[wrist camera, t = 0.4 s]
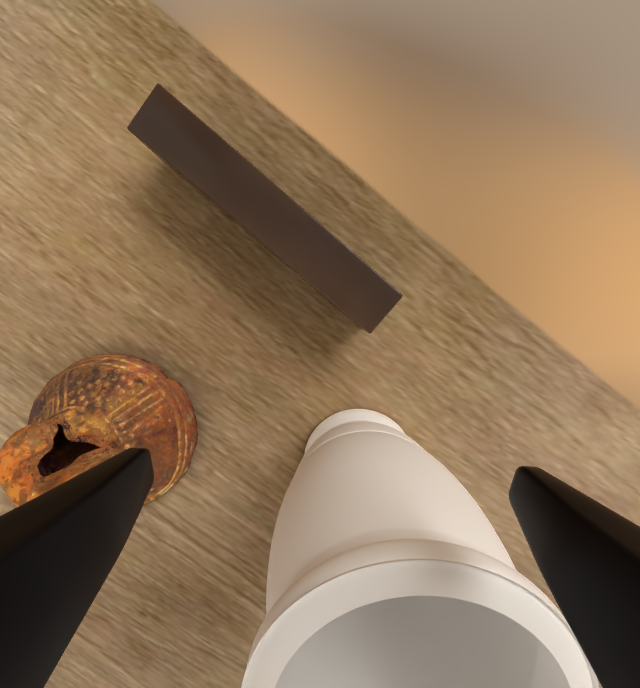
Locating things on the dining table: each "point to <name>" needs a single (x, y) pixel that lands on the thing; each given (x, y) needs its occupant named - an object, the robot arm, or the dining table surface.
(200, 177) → the bar
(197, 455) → the dining table surface
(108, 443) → the brown clay pot
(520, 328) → the dining table surface
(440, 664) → the jar
